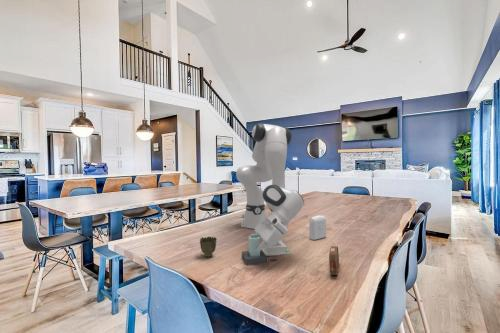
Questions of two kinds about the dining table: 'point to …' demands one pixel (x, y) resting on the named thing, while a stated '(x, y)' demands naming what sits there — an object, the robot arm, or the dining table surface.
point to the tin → (334, 260)
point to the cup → (208, 245)
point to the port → (276, 249)
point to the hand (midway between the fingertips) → (254, 246)
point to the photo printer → (317, 227)
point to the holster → (254, 258)
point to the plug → (254, 245)
